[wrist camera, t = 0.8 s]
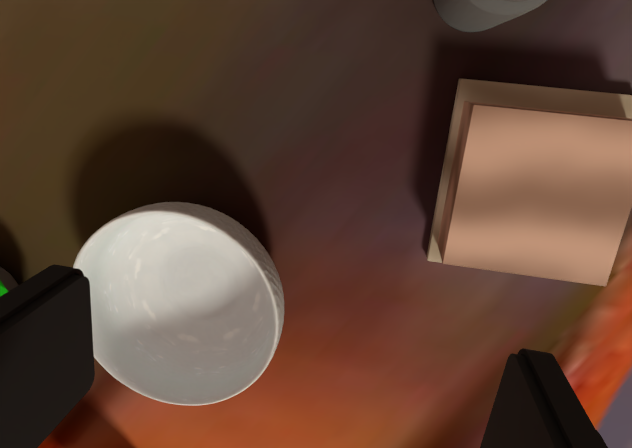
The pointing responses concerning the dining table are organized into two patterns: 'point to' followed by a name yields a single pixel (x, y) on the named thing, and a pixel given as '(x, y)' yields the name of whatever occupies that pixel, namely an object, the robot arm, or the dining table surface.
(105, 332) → the cereal bowl
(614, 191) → the pedestal
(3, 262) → the dining table surface
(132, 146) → the dining table surface
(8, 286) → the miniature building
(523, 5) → the bottle
